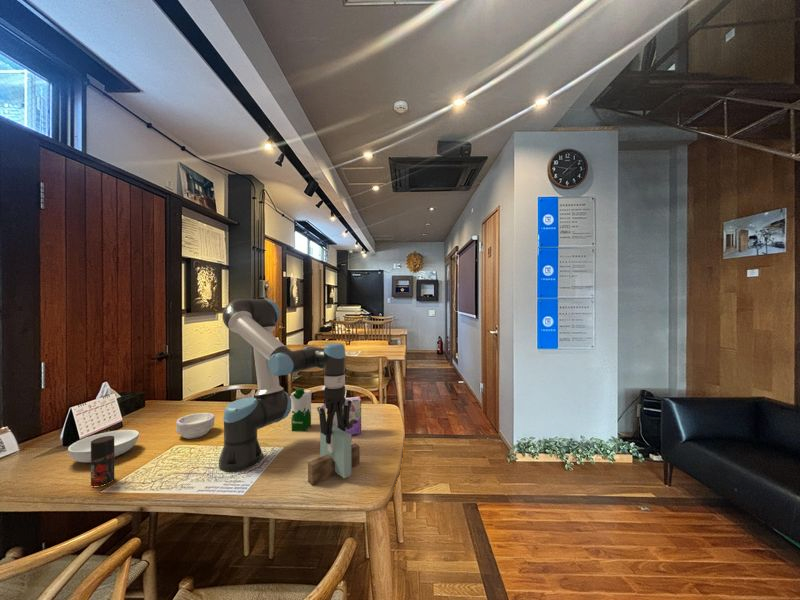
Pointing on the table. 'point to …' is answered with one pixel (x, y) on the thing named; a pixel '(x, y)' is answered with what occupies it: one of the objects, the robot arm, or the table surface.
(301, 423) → the milk carton
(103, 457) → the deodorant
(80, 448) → the serving bowl
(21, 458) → the table surface
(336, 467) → the pale green slab
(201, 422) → the paper bowls
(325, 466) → the walnut board
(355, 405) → the candy box
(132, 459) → the table surface
